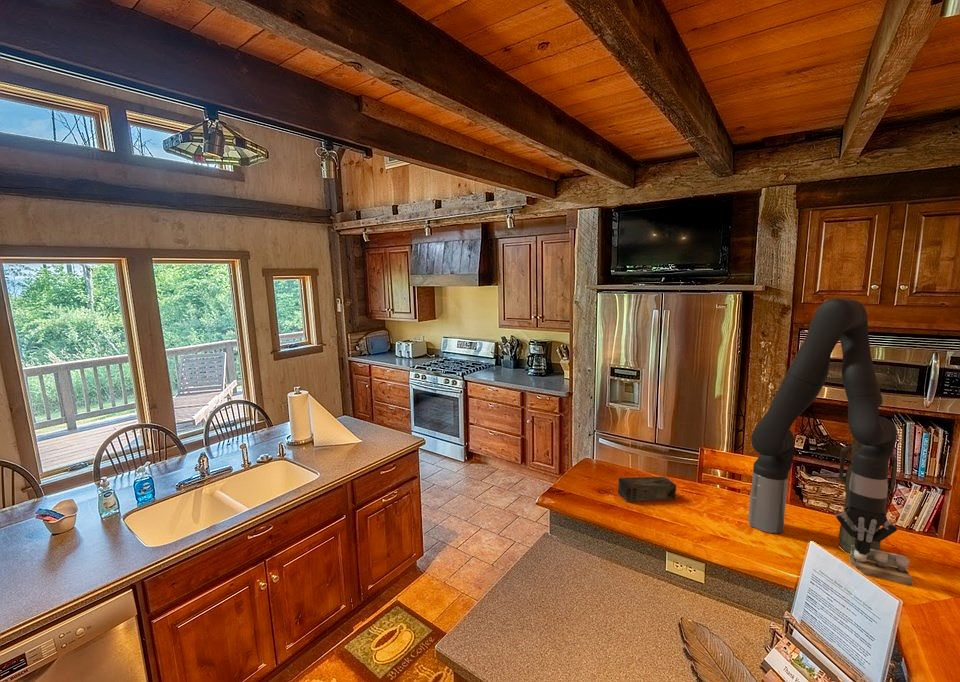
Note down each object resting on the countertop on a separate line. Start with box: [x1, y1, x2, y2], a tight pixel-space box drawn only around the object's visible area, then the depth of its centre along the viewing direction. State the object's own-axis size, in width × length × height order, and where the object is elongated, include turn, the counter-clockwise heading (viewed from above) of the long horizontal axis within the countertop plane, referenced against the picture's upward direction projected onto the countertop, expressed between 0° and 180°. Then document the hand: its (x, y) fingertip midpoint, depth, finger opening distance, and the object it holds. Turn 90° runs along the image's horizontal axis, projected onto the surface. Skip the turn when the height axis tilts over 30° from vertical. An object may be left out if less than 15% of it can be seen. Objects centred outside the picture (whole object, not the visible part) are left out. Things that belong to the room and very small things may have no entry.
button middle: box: [874, 550, 888, 568], centre depth 115 cm, size 3×3×4 cm
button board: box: [848, 545, 914, 587], centre depth 115 cm, size 11×6×5 cm, turn 62°
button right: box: [895, 554, 911, 573], centre depth 113 cm, size 3×3×4 cm
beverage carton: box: [617, 476, 677, 503], centre depth 158 cm, size 8×19×7 cm, turn 97°
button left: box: [854, 550, 867, 563], centre depth 117 cm, size 3×3×4 cm
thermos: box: [838, 437, 898, 555], centre depth 123 cm, size 9×12×35 cm
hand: (861, 552), depth 117 cm, fingers closed
